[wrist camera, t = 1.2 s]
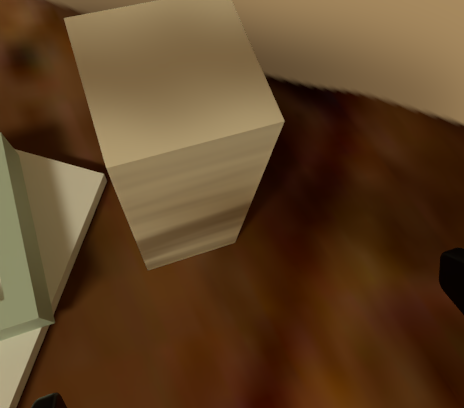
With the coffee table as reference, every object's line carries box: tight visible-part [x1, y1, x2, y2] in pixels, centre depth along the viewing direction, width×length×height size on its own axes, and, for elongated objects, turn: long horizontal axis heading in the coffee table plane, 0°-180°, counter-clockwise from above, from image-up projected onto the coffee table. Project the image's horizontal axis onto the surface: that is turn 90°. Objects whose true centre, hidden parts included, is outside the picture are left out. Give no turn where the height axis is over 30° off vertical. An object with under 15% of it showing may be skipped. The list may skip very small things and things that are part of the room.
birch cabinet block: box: [64, 0, 284, 270], centre depth 18 cm, size 6×5×13 cm
